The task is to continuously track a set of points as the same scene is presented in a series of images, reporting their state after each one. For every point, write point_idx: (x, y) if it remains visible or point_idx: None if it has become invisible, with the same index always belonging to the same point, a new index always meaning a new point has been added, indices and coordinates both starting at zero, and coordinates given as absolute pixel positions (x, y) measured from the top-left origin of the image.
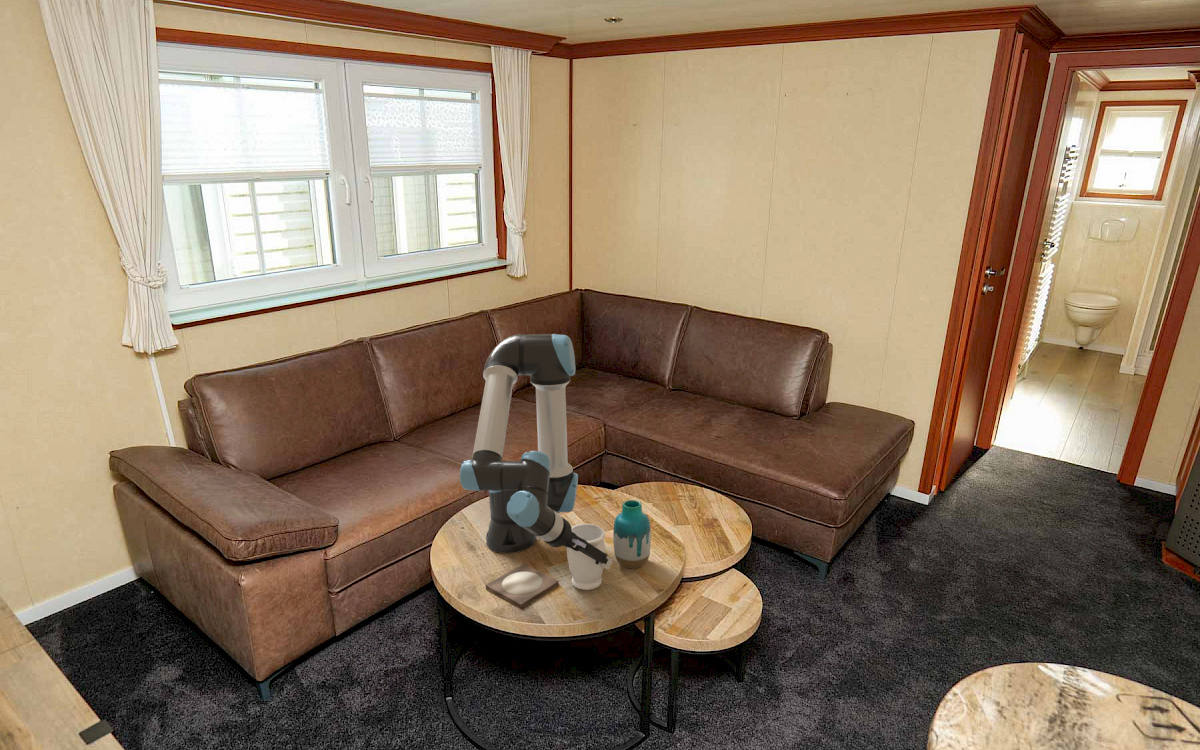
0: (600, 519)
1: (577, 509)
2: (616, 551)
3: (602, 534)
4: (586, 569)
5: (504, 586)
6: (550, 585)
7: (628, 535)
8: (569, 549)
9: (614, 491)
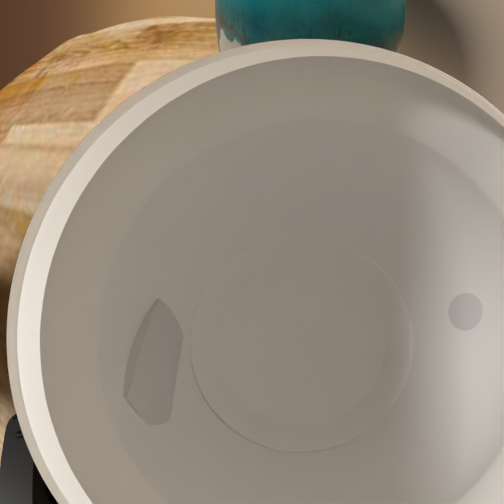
0: (72, 90)
1: (18, 115)
2: None
3: None
4: (408, 416)
5: None
6: None
7: (385, 44)
8: None
9: (59, 47)
